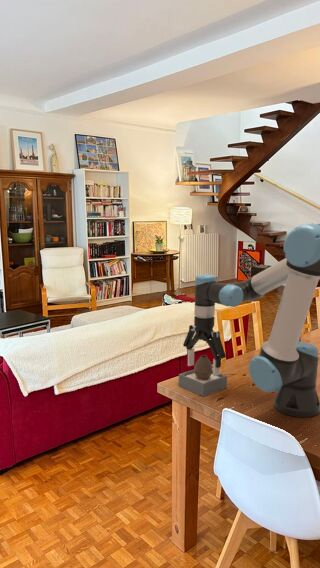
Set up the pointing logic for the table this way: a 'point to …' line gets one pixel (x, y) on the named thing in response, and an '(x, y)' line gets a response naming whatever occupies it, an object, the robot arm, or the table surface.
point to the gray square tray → (202, 383)
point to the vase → (203, 368)
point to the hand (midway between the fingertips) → (203, 370)
